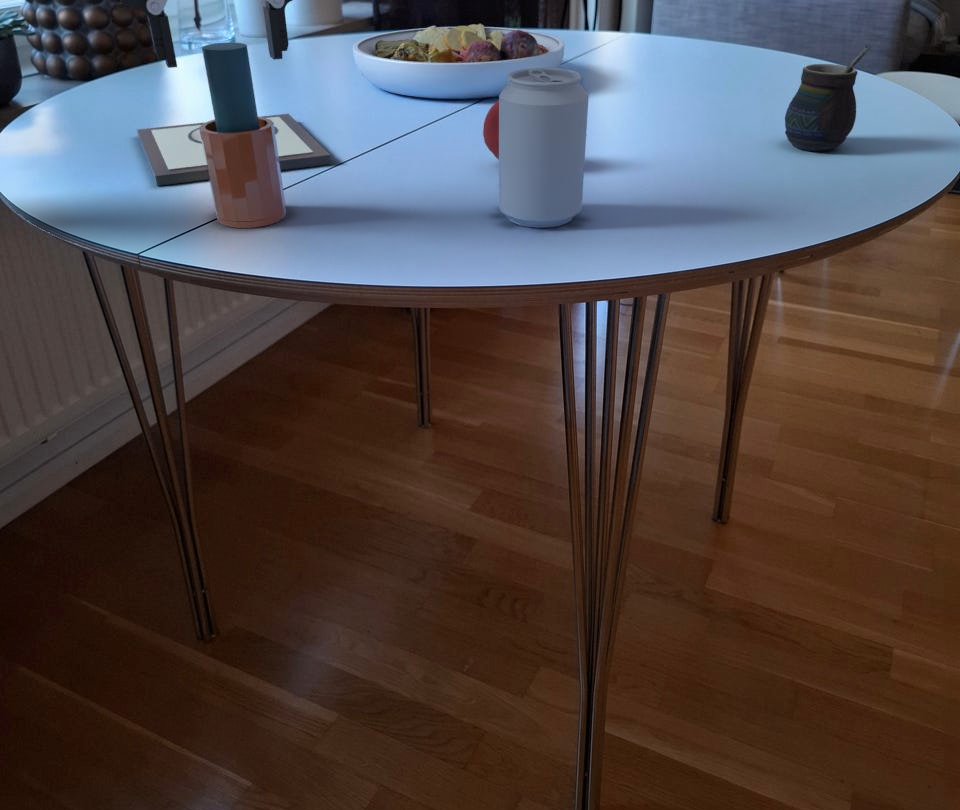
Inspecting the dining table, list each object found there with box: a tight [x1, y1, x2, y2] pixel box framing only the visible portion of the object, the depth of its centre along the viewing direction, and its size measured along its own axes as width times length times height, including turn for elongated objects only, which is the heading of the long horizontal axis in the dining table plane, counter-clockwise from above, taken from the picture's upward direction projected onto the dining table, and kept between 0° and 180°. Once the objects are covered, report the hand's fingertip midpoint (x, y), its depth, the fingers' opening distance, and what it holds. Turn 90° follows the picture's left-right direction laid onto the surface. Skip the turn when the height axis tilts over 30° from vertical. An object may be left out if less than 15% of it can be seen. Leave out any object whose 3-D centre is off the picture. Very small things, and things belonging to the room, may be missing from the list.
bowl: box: [352, 23, 565, 100], centre depth 123 cm, size 30×30×8 cm
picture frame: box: [136, 113, 332, 187], centre depth 96 cm, size 18×20×1 cm
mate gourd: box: [784, 45, 872, 152], centre depth 93 cm, size 7×8×10 cm
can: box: [498, 68, 590, 229], centre depth 74 cm, size 8×8×12 cm
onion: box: [482, 99, 499, 161], centre depth 88 cm, size 6×6×8 cm
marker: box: [201, 42, 260, 133], centre depth 74 cm, size 4×4×14 cm
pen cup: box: [199, 116, 287, 229], centre depth 76 cm, size 6×6×8 cm
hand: (224, 62), depth 71 cm, fingers open, 8 cm apart
